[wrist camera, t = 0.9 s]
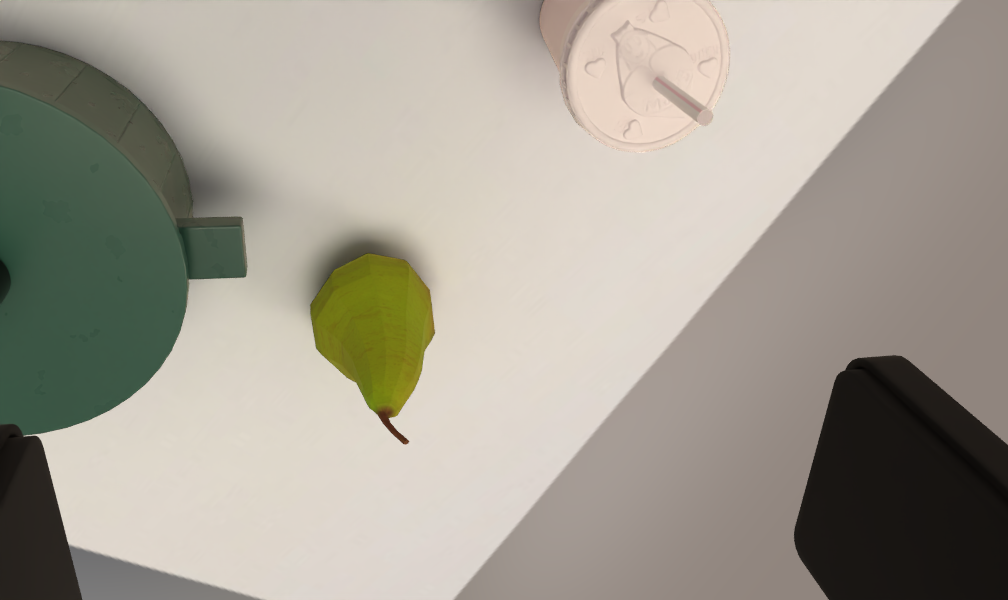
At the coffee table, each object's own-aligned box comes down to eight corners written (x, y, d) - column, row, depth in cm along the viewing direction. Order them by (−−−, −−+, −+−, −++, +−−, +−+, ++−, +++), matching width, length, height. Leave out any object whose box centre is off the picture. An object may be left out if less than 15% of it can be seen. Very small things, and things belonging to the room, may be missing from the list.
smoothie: (565, 113, 41) (669, 233, 30) (481, 11, 38) (561, 99, 26) (669, 23, 40) (821, 110, 28) (592, -90, 37) (727, -45, 25)
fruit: (319, 225, 42) (324, 358, 32) (441, 243, 44) (483, 375, 33) (300, 335, 44) (299, 490, 34) (415, 348, 46) (447, 499, 36)
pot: (-283, 35, 33) (-412, 83, 27) (238, 44, 37) (225, 87, 31) (-167, 341, 40) (-250, 434, 34) (263, 321, 44) (256, 401, 38)
